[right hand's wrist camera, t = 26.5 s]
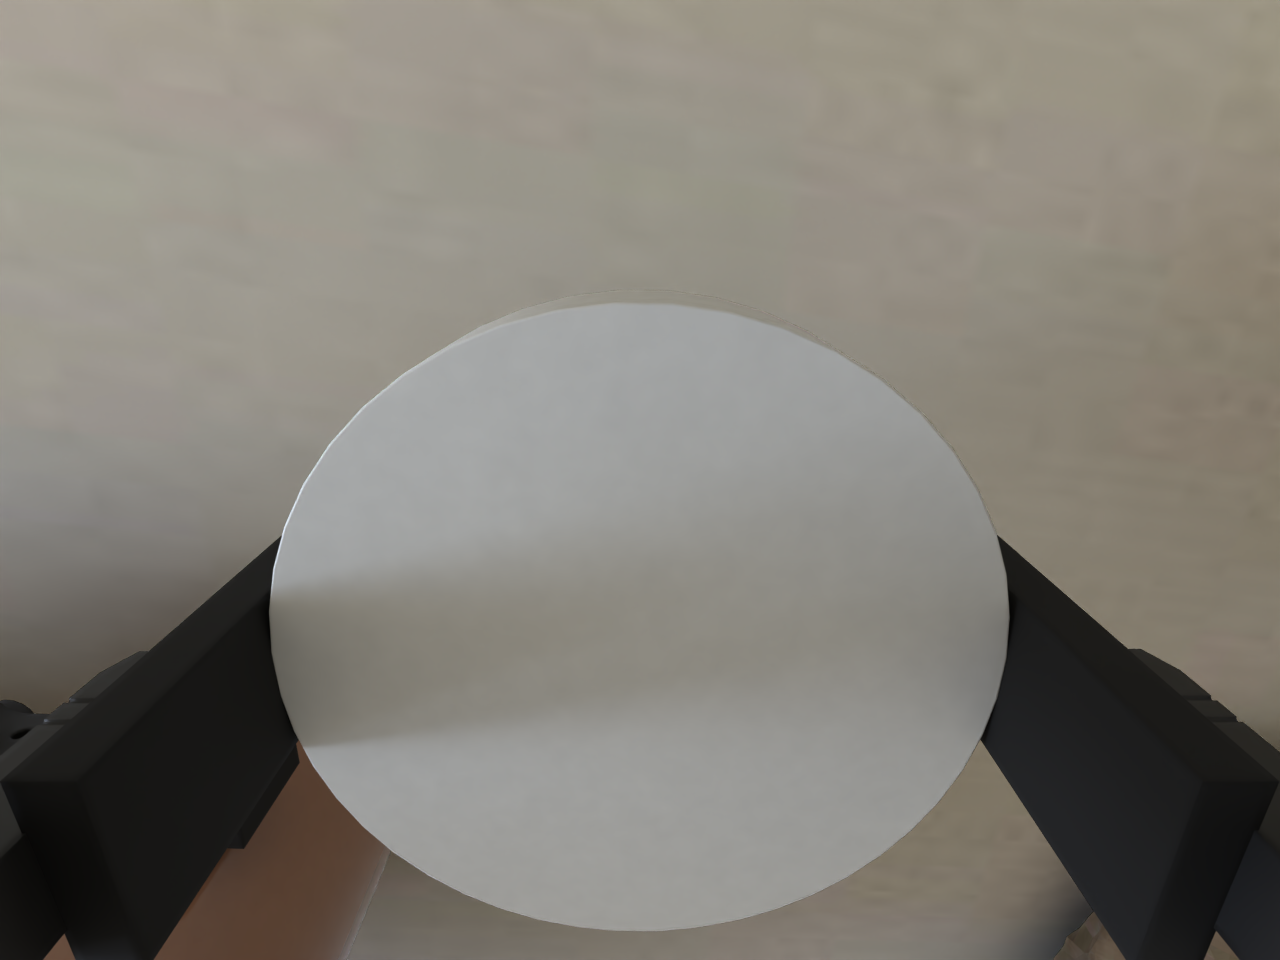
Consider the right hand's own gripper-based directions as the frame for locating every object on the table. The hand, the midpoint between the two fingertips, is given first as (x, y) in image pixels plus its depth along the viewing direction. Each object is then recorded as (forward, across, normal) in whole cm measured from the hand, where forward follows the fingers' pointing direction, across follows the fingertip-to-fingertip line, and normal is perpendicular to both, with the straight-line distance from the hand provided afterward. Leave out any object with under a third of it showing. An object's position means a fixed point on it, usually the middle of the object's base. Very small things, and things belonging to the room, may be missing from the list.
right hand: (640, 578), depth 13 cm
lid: (-3, 0, 0) cm, 3 cm away
